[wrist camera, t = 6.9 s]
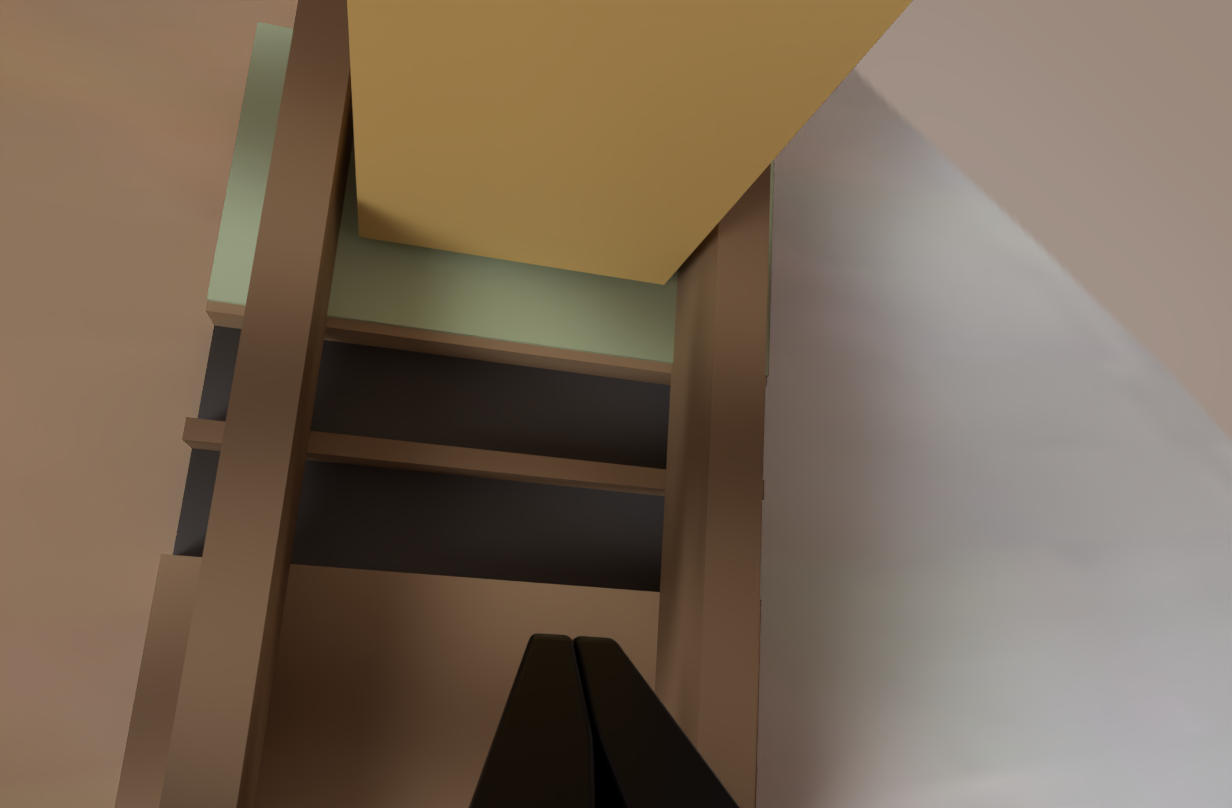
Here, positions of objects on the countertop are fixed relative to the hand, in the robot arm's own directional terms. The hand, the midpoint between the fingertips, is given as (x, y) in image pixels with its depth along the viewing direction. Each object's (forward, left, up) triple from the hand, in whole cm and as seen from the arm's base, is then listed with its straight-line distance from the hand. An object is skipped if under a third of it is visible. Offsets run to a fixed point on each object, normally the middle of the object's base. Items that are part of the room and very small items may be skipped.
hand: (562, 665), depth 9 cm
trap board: (+2, -2, -9) cm, 10 cm away
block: (+7, -6, -7) cm, 11 cm away
